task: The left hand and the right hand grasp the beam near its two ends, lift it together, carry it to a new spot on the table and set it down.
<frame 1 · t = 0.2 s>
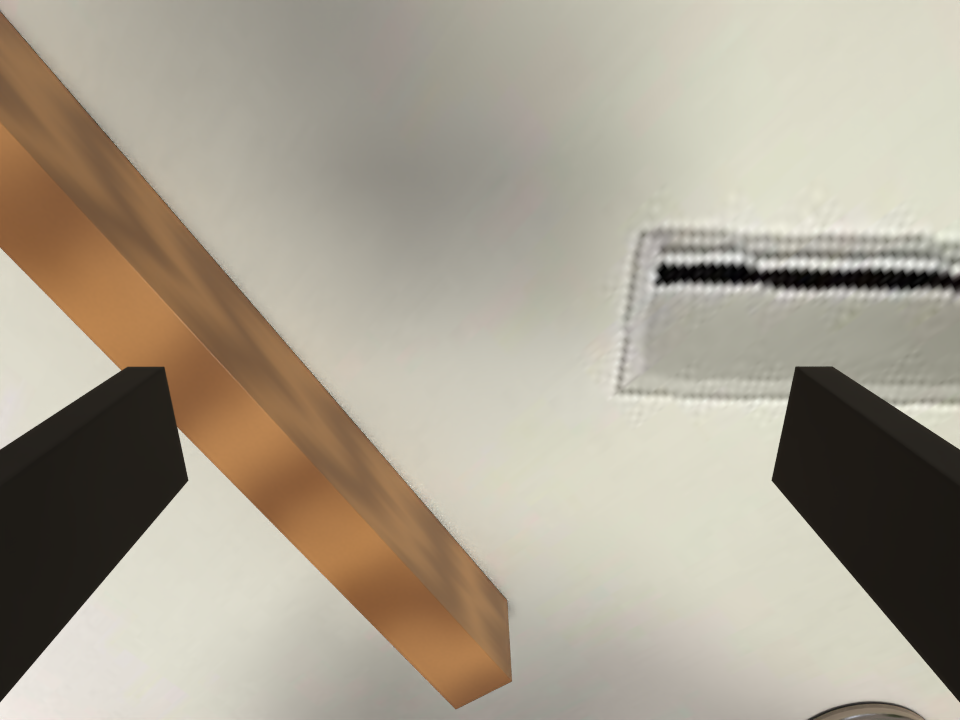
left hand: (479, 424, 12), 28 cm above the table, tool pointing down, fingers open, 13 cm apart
beam: (236, 336, 41), on the table
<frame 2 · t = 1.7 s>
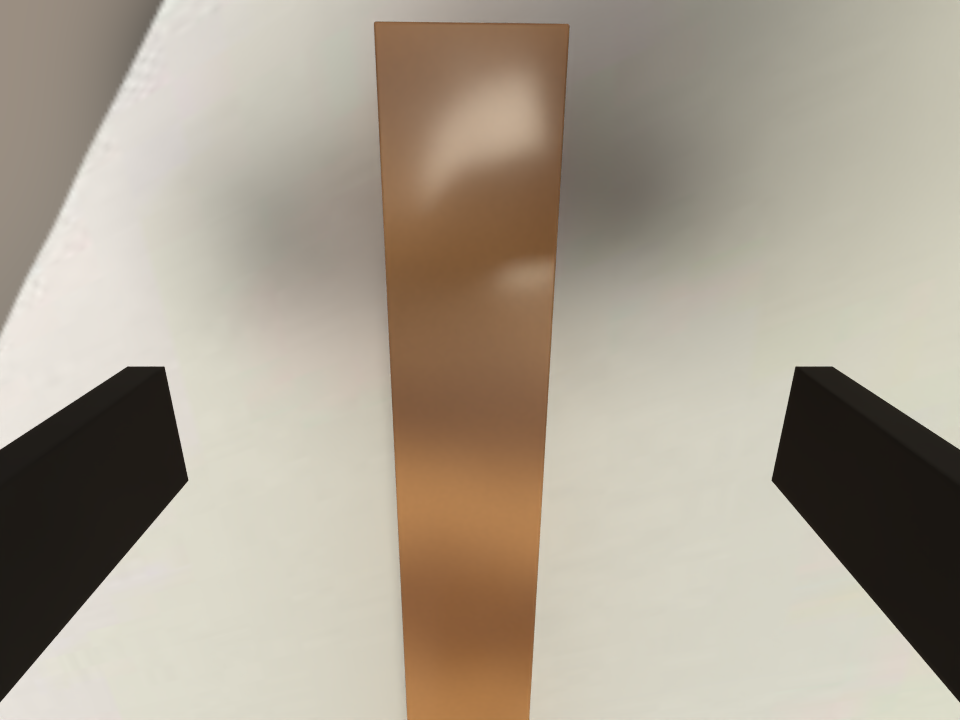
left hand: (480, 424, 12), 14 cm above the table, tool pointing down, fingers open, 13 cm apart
beam: (470, 658, 33), on the table
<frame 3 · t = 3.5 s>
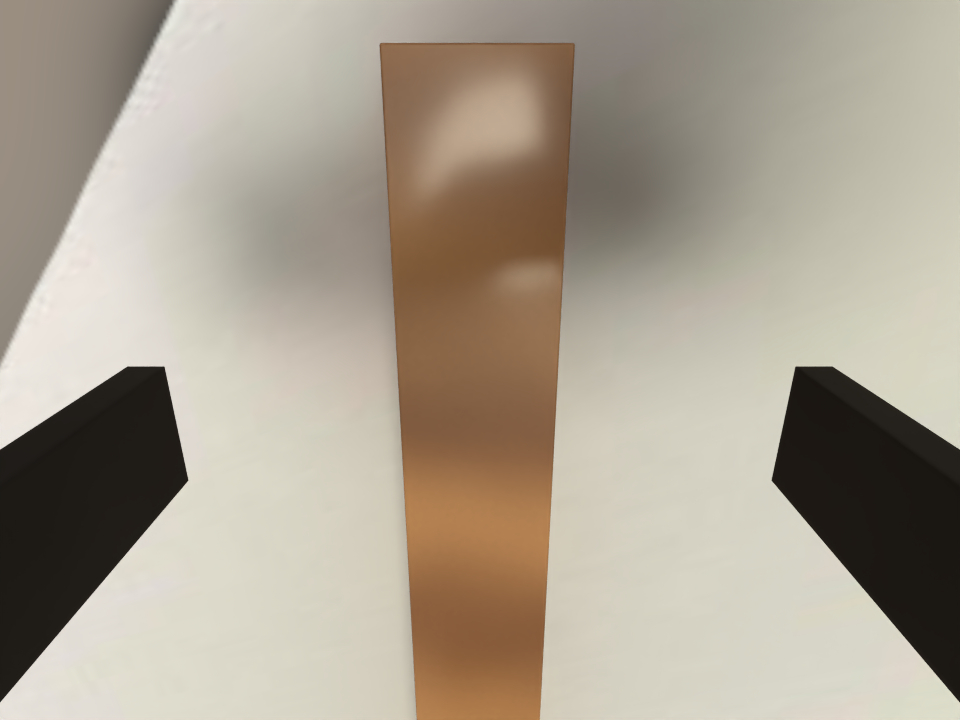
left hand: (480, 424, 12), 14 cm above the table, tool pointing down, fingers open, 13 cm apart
beam: (478, 667, 33), on the table, touching right hand
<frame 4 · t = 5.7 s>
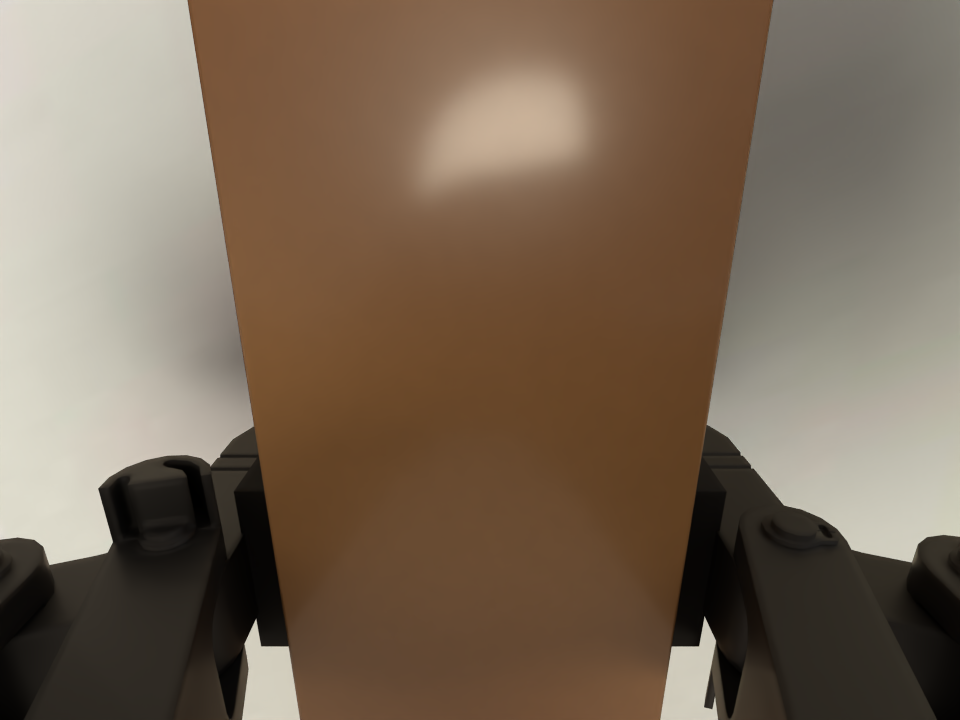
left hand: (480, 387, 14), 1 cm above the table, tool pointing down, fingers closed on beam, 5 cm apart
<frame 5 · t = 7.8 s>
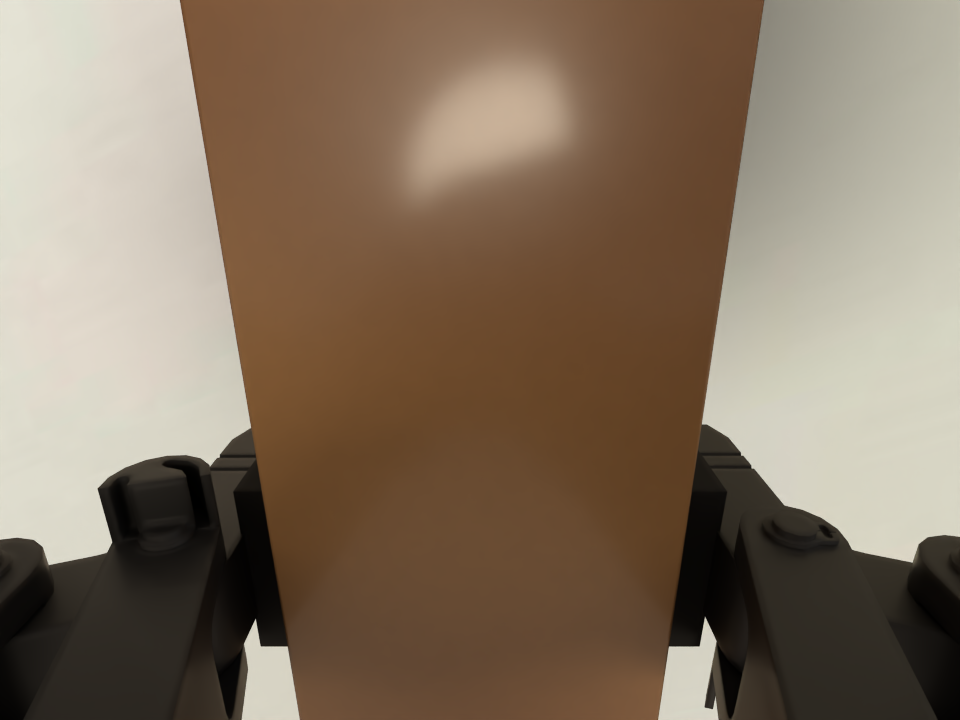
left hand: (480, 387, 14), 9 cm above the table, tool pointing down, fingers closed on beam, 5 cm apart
when the left hand's fingers open (2 cm above the table, at t = 9.8 s): beam drops 1 cm, on the table.
when the right hand's fingers open (2 cm above the table, at t = 9.8 s): beam drops 1 cm, on the table.
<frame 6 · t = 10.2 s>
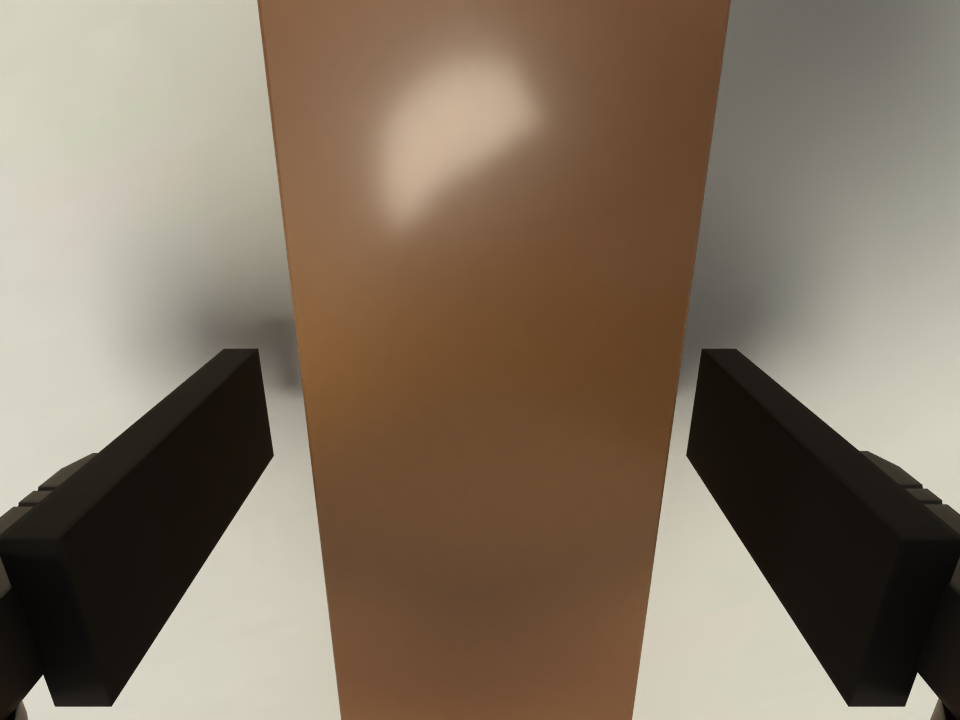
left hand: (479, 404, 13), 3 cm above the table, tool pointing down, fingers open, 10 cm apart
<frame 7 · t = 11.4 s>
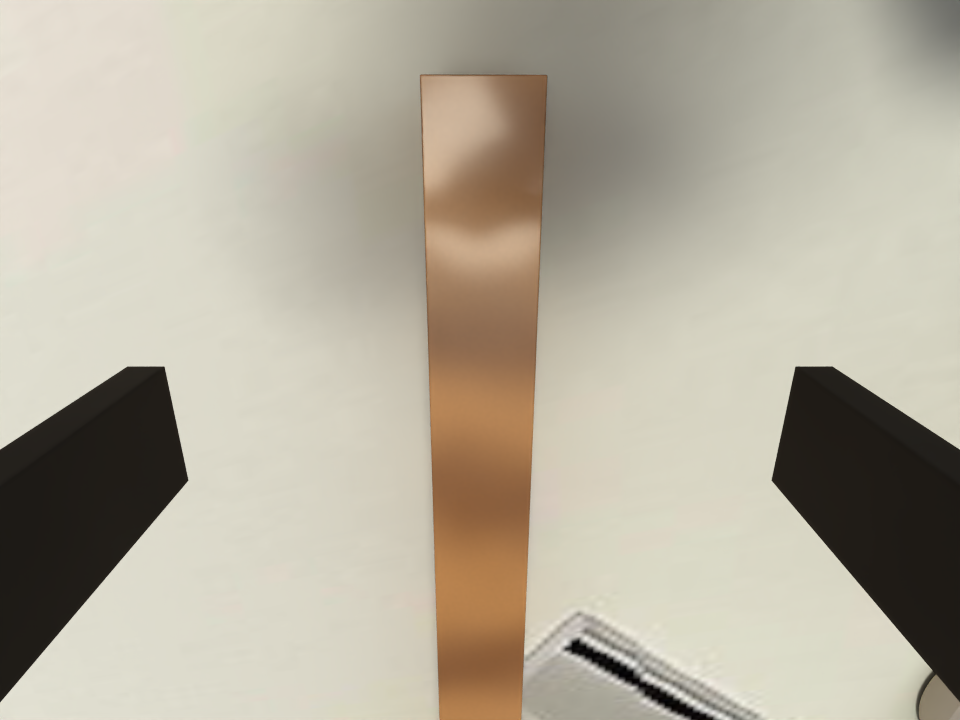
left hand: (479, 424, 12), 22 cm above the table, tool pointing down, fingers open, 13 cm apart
beam: (480, 563, 41), on the table
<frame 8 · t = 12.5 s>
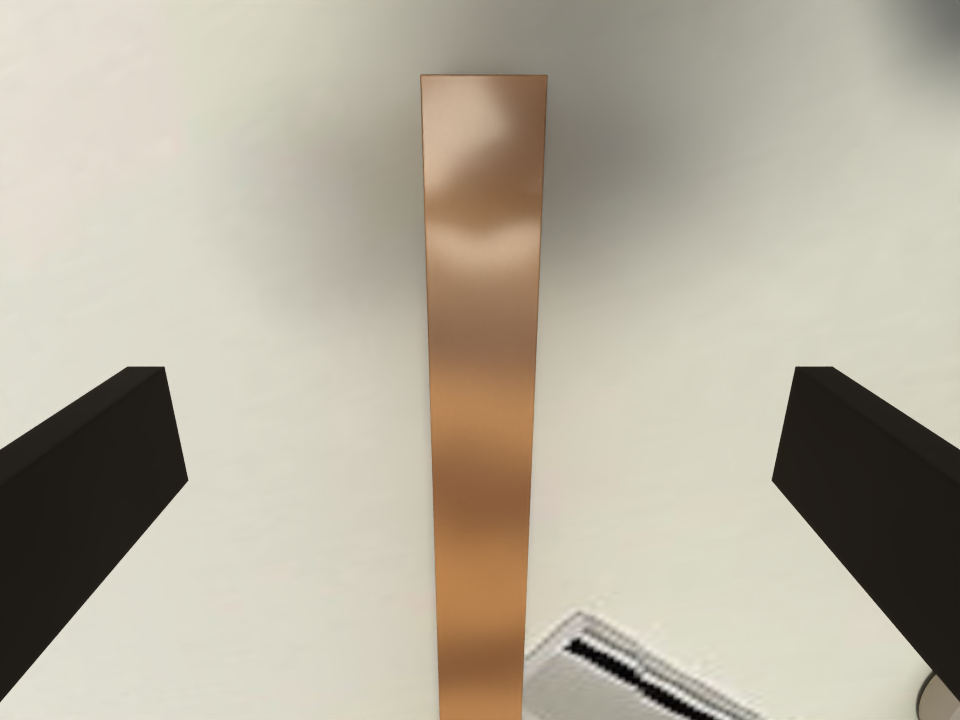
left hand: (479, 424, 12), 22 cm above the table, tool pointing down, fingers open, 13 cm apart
beam: (480, 563, 41), on the table
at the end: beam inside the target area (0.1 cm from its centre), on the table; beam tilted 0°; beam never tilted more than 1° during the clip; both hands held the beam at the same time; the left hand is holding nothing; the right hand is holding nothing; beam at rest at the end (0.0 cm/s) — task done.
